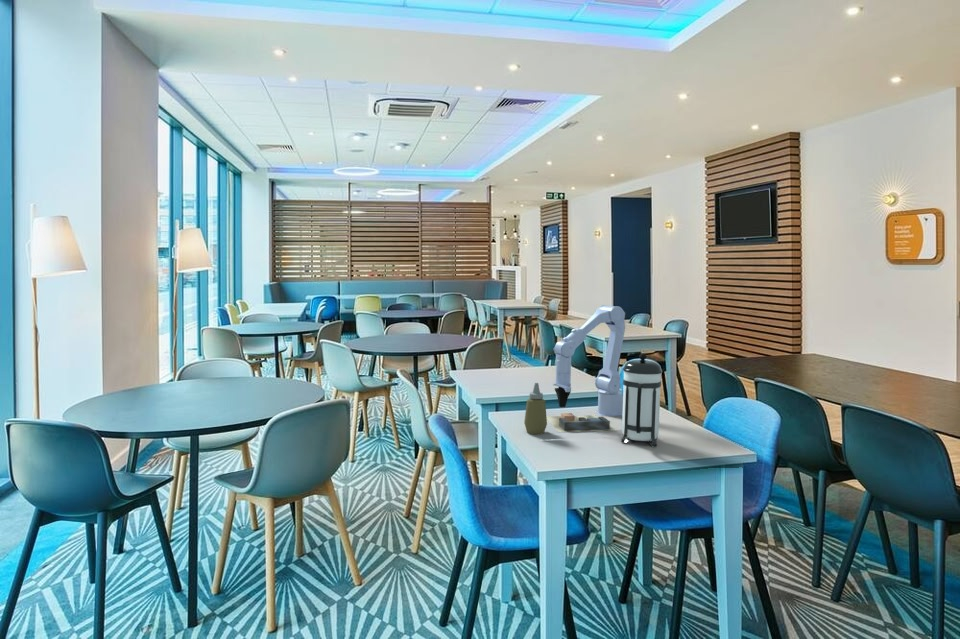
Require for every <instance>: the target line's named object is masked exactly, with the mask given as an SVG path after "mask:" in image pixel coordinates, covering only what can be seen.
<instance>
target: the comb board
mask: <svg viewBox="0 0 960 639" xmlns="http://www.w3.org/2000/svg"><path fill="white" fill-rule="evenodd" d="M574 416H575V421H568V420H567V419H565V418H561V415H557V416H556V415H555V416H554V415H553V416H550V415H549V416H548V415H547V416H546V417H547V423H549V424H550V425H551V427H553V428H554V429H555V430H557V431H558V432H559V433H575V432H578V433H579V432H581V433H582V432H607V431H608V432H609V431H611V432H613V431H614V432H615V431H618V430H617V429H616V428H614V427H613V426H612V425H610V424H611V421H610V420H608V419H607V418H606V417H605V416H597V415H596V414H595V415H592V414H591V415H574ZM587 418H599V419H600V420H597V421H588V420H587Z"/></svg>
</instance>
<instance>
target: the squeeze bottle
mask: <svg viewBox="0 0 960 639" xmlns="http://www.w3.org/2000/svg"><path fill="white" fill-rule="evenodd" d="M532 390H533V391H531V392H529V398H528V399H527V400H526V406H525V414H524V426H525V430H526V433H527V434H530V435H542V434H545V430H546V428H547V426H548V421H547V417H548V416H547V406H546V400H545V399H544V394H543V392H541V390H540V386H539V383H538V382H535V383H534V386H533V389H532Z"/></svg>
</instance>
